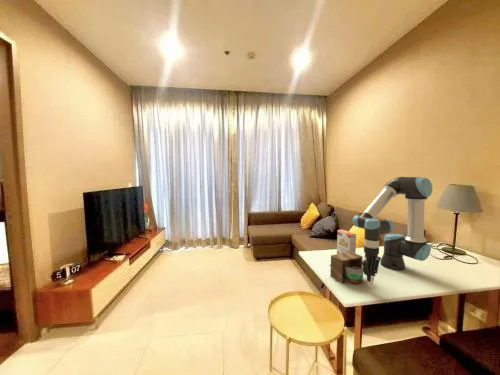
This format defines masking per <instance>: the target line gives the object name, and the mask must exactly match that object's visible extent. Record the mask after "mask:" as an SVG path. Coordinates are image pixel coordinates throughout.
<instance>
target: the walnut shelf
mask: <svg viewBox="0 0 500 375" xmlns="http://www.w3.org/2000/svg"><path fill="white" fill-rule="evenodd" d="M361 259H364V257H363V256H362V254H361V255H360V254H358V253H354V252H346V253H341V254H337V253H336V254H331V255H330V275H329V277H330V278H332V279H333V280H335V281H337V282H338V283H340V284H342V283H343V276H345V269H344V268H343V267H344V265H345V266H355V267H362V268H363V264H362V261H361Z"/></svg>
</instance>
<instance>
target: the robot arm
mask: <svg viewBox="0 0 500 375" xmlns="http://www.w3.org/2000/svg"><path fill="white" fill-rule="evenodd" d="M432 184H433V183H432V182H431V180H430V179H429V178H427V177H420V176H399V177H395V178H393V179H391V180H389V181H388V182H386V183H385V184H384V185H383V186H382V187H381V191H380V192H379V193H378V194H377V196H375V198H374V199H373V200H372V202H371V203H370V204H369V205H368V206H367V207H366V208H365V210H363V212H362V213H361V214H358V215H357V214H355V215H354V216H353V217H352V220H351V222H352V225H353V226H354V227H356V228H359V229H364V236H363V238H364V242H363V245H364V246H363V253H364V257H363V259H361V261H362V268H363V270H364V272H363V275H365V276H366V282H367V283H366V286H367V287H369V288H374V280H375V277H376V275H377V274H378V270H379V266H380V265H381V266H382V267H384V268H386V269H389V270H393V271H404V270H405V269H406V262H405V258H404V257H408V258H410V259H413V260H417V261H420V262H423V261H426V260H427V259H428V258H429V256H430V254H431V251H432V247H431V245H430V244H429V243H428V241H427V239H426V238H425V236H424V235H425V201H427V200H428V198H430V196H432V193H433V185H432ZM397 195H404V196H405V197H404V198H405V199H406V201H407V235H406V236H405V235H404V234H401V233H391V232H393V231H394V229H395V225H394V223H393V222H392V221H391V220H390V219H378V218H377V217H378V215H379V214H380V213H381V212H382V211H383V209H385V207H386V206H387V205H388V203H389V202H390V201H391V200H392V199H393V198H396V197H397ZM380 235H384V238H383V254H382V256H379V254H380V238H381V236H380Z"/></svg>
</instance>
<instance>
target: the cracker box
mask: <svg viewBox="0 0 500 375" xmlns="http://www.w3.org/2000/svg"><path fill="white" fill-rule="evenodd" d="M336 241H337V242H336V254H341V253H346V252H354V253H356V252H357V250H356V249H357V248H356V247H357V234H356V233H354V232H351V231H349V230H346V229H337V238H336ZM356 254H357V253H356Z"/></svg>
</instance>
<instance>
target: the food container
mask: <svg viewBox="0 0 500 375" xmlns="http://www.w3.org/2000/svg"><path fill="white" fill-rule="evenodd" d="M343 268H344V269H345V274H344V277H345V279H344V280H345V282H346V283H348V284H351V285H354V286H359V285H362V283H363V278H364V270H363V266H362V267H355V266H345V265H344V267H343Z"/></svg>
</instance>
